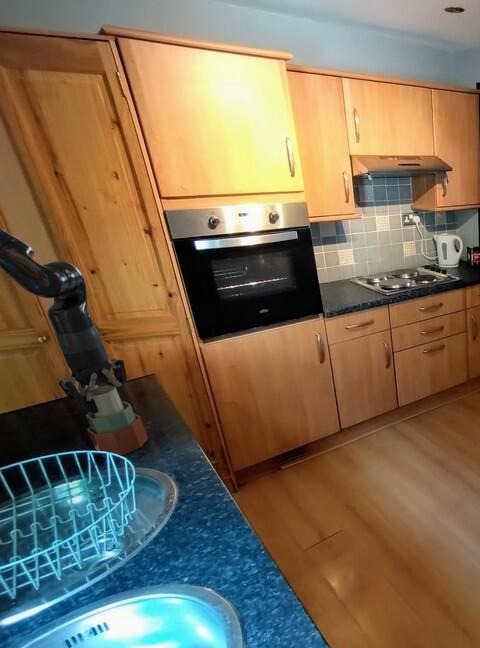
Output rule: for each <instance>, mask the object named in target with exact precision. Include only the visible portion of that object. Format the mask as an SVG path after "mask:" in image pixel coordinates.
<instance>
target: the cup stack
mask: <svg viewBox="0 0 480 648" xmlns="http://www.w3.org/2000/svg"><path fill="white" fill-rule="evenodd" d="M122 404H123V406H124V409H125V410H124V411H122V412H120V413H117V414H114V415H112V416H109V417H103V418H95V416H94V413H90V412H87V414H86V415H85V417H86V420H87V422H88V423H89V425H90V427H89V428H87V429H86V431H87V433H88V435H89V437H90V440H91V442H92V444H93V446H94V449H95V451H96V450H102V451H110V452H114V453H117V454H120V455H122V456H124V455H126V454H129V453H132V452H133V451H135V450H138V449H140V448H142V447H143V446H144V445H145V443H146V442H147V441H148V440H149V436H148V434H147V431H146V428H145V426H144V423H143V420H142V418H141V416H140V415H138V414H136V413H135V412H134V409H133V407H132V404H130V403H128V402H127V401H122ZM100 456H101V457H102V458H107V457H106V456H104V455H100Z"/></svg>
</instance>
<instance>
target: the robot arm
mask: <svg viewBox="0 0 480 648" xmlns="http://www.w3.org/2000/svg"><path fill="white" fill-rule="evenodd" d="M34 257H35V250H34V248H33V247H32V246H30V245H29V244H28V243H26V242H25V241H24V240H21V239H20V238H19V237H17V236H15V235H13V234H12V233H10V232H9V231H7V230H4V228H1V227H0V269H1V270H2V271H3V272H4V273H6V275H7V276H8V277H10V278H11V279H12V280H13V281H14V282H15V283H16V284H17V285H19V286H20V287H21V288H22V289H24V290H25V291H26V292H27V293H28V292H29V294H32V295H34V296H36V297H39V298H43V299H53V303H52V305H51V306H49V308H48V309H47V311H46V313H47V318H48V320H49V322H50V325H51V327H52V330H53V332H54V334H55V338H56V341H57V345H58V347H59V349H60V351H61V354H62V356H63V358H64V360H65V362H66V365H67V367H68V368H69V370H70V371H71V375H70V377H69V378H67V379H65V380H60V381H58V385H59V387H60V388H61V390H62V392H63V393H64V394H65V395H66V397H67V398H68V399H69V401H70V402H72V403H73V402H75V403H79V404H80V403H82V405H83V407H84V409H85V411H86V412H87V413H89V412H90V413H94V414H95V413H97V412H99V411H98V408H97V406H96V404H95V401H94V400H93V399H92V395H93V391H94V390H95V388H96V386H98V384H99V383H101V382H106V383H107V384H108V385H109V386H115V387H116V389H117V391H118V394H119V396H120V399H121V401H123V400H124V397H125V393H124V391H123V388H122V384H124V383H126V382H128V375H127V372H126V366H125V362H124V360H123V359H116V358H113V359H112V360H111V361H110V360H109V355H108V353H107V350H106V348H105V345H104V343H103V341H102V338H101V335H100V332H99V331H98V330H97V328H96V326H95V323H94V321H93V319H92V316H91V313H90V312H89V309H88V294H87V284H86V281H85V277H84V276H83V274H82V272H81V271H80V270H79V269H78V268H77V267H76V266H75V265H74V264H72V263H70V262H67V261H65V260H57V261H52V262H49V263H45V264H40V263H39V262H37V261H36V260H34V259H33V258H34ZM110 371H111V373H110ZM112 371H113V374H112ZM76 383H78V385H77V384H76ZM77 386H78V387H77ZM76 387H77V388H76Z"/></svg>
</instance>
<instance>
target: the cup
mask: <svg viewBox="0 0 480 648" xmlns="http://www.w3.org/2000/svg"><path fill="white" fill-rule="evenodd" d="M92 399H93V400H94V401H95V404H96V406H97V408H98V411H99V412H97V413H95V414H94V416H95V418H103V417H109V416H112V415H114V414H117V413H120V412H122V411H124V410H125V409H124V406H123V404H122V402H123V400H121V399H120V396H119V394H118V391H117V389H116V387H115V386H102V387H95V390H94V391H93V395H92Z"/></svg>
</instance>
